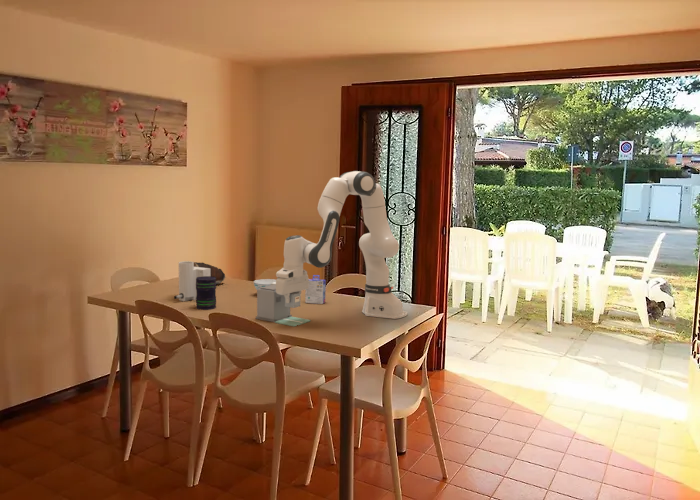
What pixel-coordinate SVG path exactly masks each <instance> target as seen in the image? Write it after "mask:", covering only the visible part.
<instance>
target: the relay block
mask: <svg viewBox="0 0 700 500" xmlns="http://www.w3.org/2000/svg"><path fill="white" fill-rule="evenodd" d="M301 295H302V292H301V293H298V292H293V293H290V296H289V298H290V299H291V303H286V299H285V307H290V309H292V308H293V309H294V308H299V307H301V301H302V300H301V298H302V297H301Z"/></svg>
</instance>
